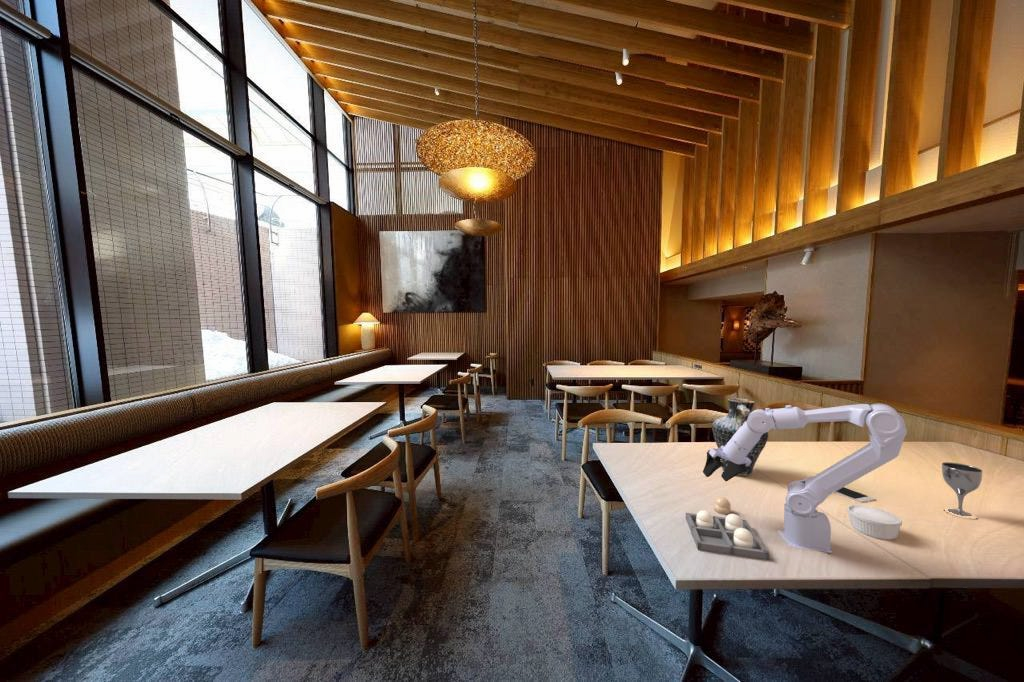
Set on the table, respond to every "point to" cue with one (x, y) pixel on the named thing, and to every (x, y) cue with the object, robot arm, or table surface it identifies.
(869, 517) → the ramekin
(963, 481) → the wine glass
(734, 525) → the cream egg
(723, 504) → the tan egg
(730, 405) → the jug
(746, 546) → the cream egg
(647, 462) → the table surface
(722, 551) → the egg tray
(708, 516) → the cream egg
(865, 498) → the smartphone
